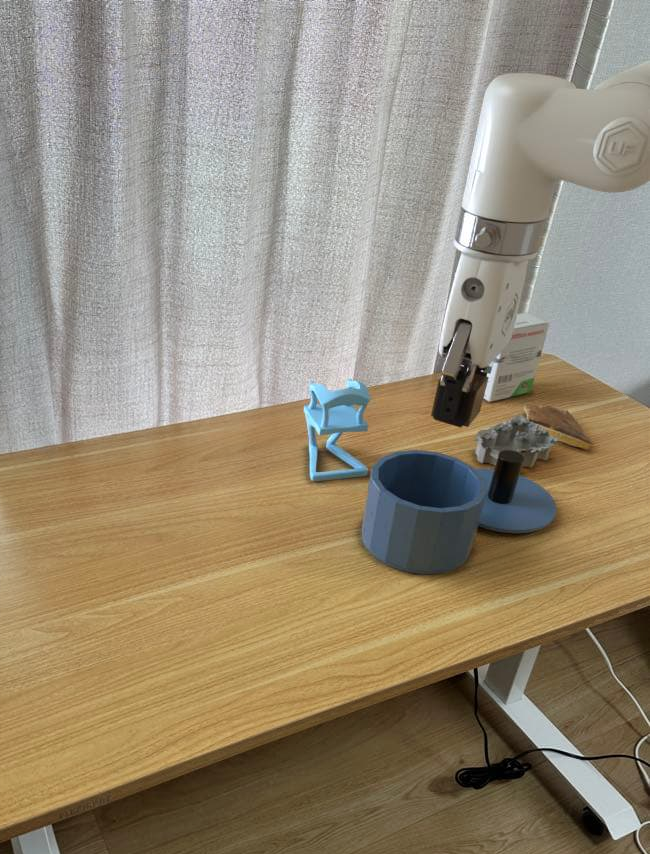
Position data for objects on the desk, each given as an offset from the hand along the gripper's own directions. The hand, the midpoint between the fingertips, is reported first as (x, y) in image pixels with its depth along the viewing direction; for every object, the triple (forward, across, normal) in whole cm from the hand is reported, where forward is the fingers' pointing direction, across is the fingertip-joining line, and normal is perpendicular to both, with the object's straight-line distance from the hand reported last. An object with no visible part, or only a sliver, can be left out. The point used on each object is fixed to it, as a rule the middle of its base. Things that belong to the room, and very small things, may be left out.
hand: (456, 411), depth 84 cm
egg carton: (+17, +26, -3) cm, 31 cm away
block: (0, 0, 0) cm, 0 cm away
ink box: (+17, +45, +4) cm, 48 cm away
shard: (+17, +38, -7) cm, 42 cm away
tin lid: (+17, +13, -5) cm, 22 cm away
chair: (+18, +10, +17) cm, 26 cm away
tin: (+17, 0, +1) cm, 17 cm away
